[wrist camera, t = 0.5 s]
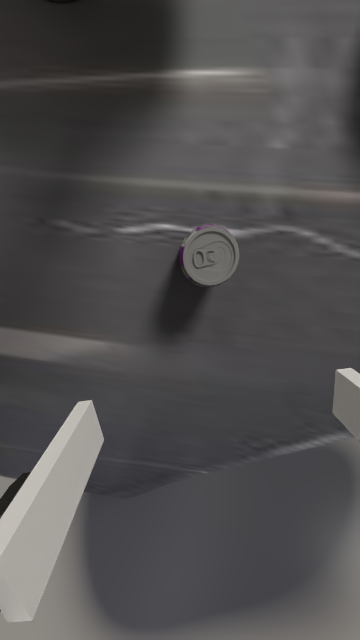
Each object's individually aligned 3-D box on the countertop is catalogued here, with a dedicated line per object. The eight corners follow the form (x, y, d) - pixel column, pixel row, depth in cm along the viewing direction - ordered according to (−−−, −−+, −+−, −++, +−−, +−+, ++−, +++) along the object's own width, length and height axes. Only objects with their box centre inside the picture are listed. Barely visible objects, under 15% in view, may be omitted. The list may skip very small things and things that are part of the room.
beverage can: (181, 280, 37) (181, 292, 25) (176, 234, 35) (175, 225, 23) (223, 275, 37) (244, 286, 25) (221, 229, 35) (243, 218, 23)
